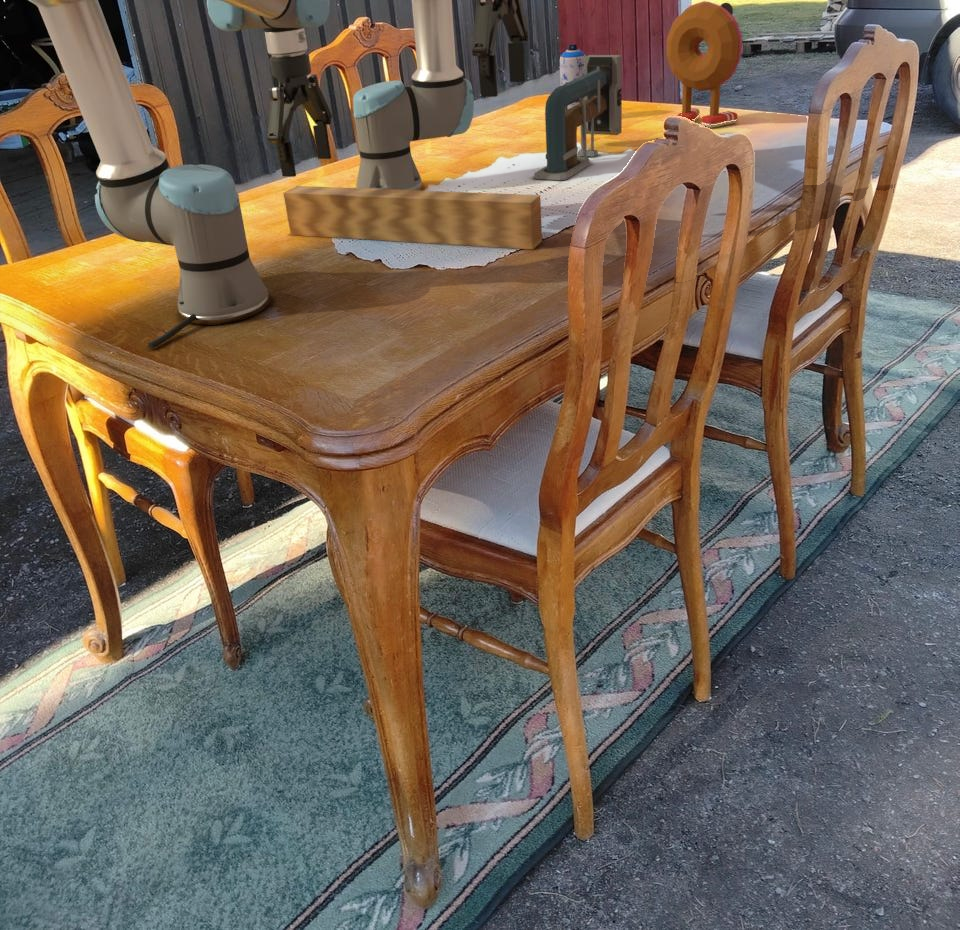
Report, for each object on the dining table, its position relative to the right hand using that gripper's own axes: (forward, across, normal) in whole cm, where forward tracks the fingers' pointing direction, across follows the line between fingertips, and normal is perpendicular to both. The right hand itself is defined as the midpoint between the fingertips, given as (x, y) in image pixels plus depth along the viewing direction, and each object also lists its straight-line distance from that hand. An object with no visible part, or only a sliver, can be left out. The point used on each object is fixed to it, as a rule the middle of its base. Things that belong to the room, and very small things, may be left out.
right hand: (504, 88), depth 171 cm
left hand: (+15, 0, +44) cm, 46 cm away
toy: (+28, +105, -15) cm, 109 cm away
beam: (+28, 0, +22) cm, 36 cm away
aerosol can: (+28, +108, +23) cm, 114 cm away
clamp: (+28, +62, +7) cm, 69 cm away
